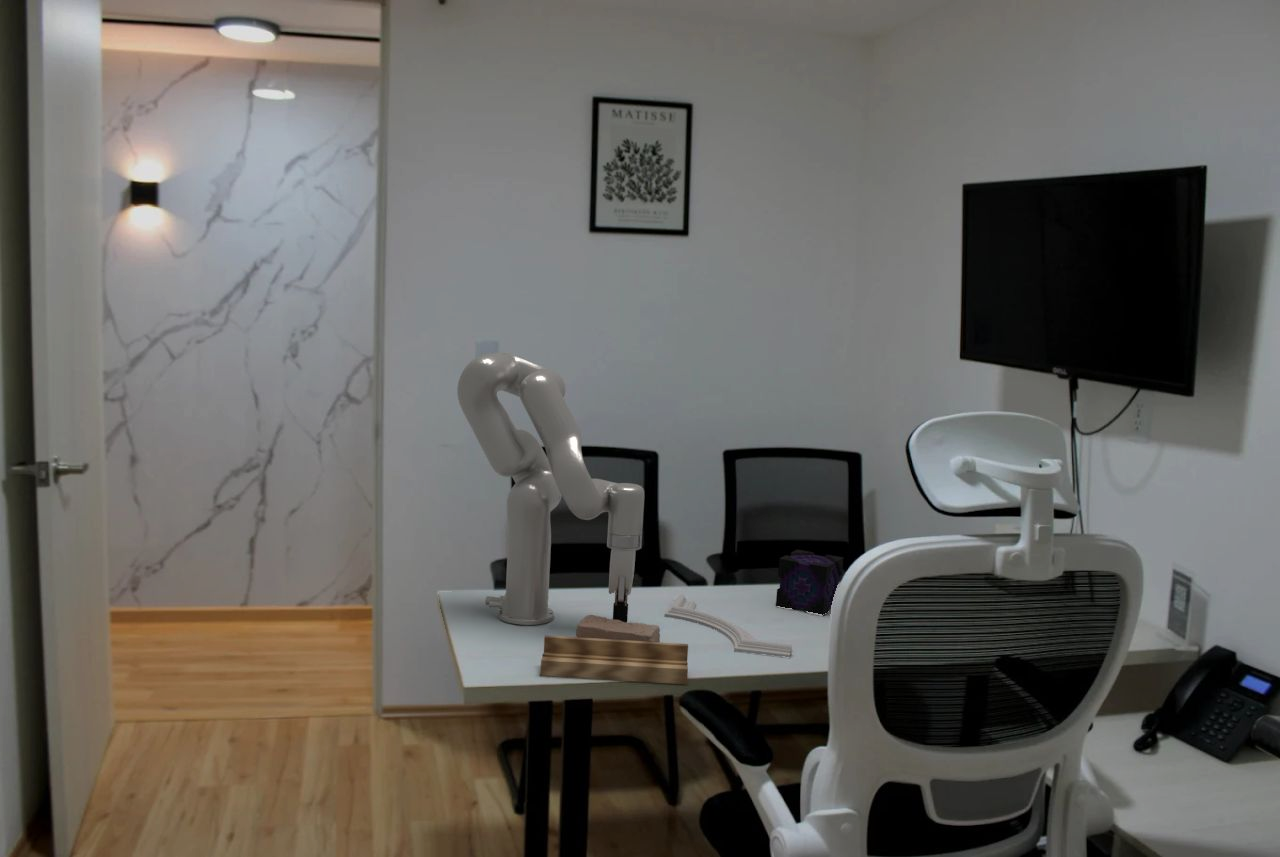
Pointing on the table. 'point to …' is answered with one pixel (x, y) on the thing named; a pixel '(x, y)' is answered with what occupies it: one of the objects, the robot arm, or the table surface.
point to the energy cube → (808, 581)
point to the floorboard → (615, 659)
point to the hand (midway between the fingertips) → (619, 621)
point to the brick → (616, 630)
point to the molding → (726, 629)
